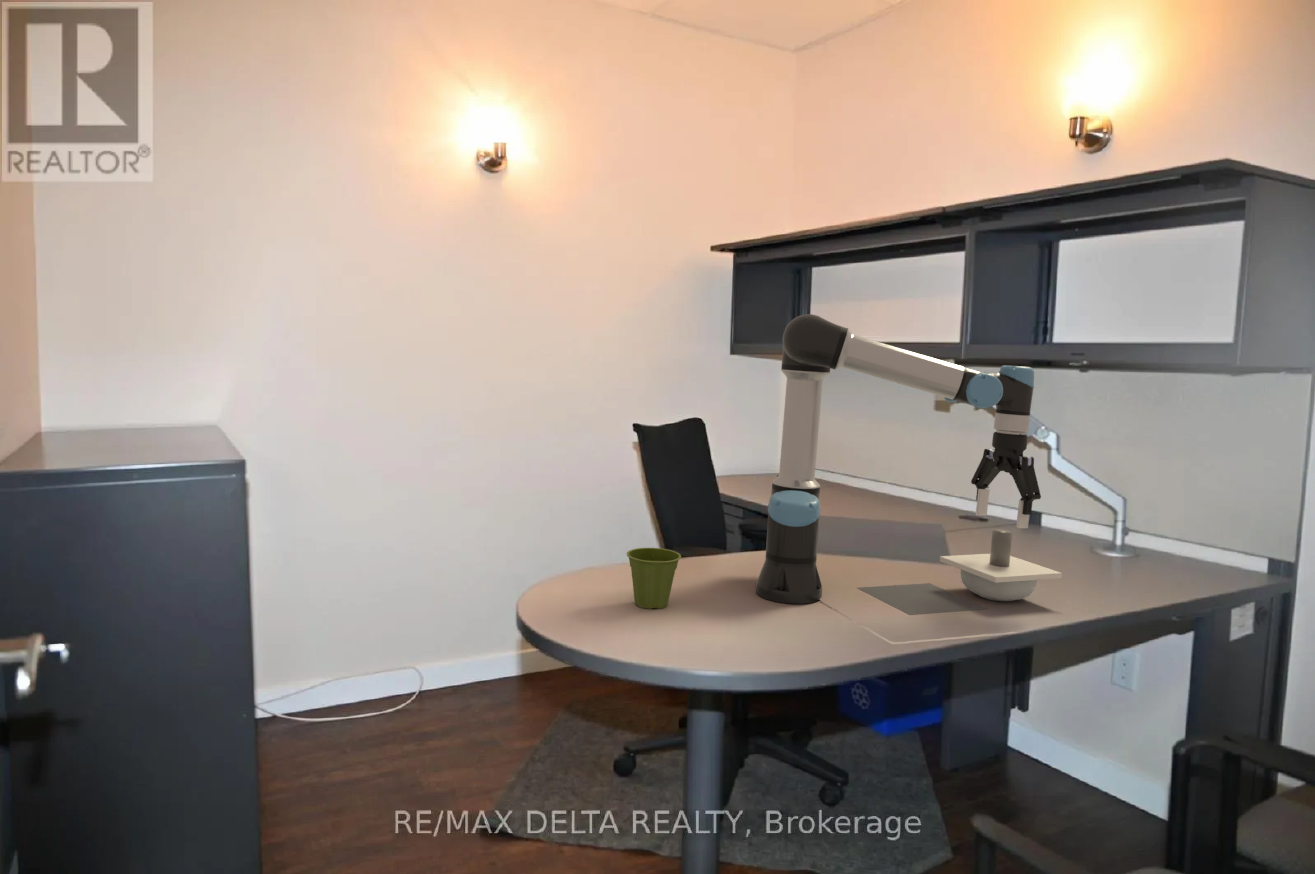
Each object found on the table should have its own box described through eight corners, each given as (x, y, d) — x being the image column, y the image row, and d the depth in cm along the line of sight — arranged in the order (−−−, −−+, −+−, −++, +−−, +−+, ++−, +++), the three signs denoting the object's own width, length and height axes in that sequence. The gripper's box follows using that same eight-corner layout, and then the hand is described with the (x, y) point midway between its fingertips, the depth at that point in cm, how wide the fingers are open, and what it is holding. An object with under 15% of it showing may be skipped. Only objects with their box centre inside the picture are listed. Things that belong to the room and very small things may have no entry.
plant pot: (620, 610, 182) (622, 558, 181) (629, 594, 194) (631, 545, 192) (675, 615, 180) (678, 562, 179) (681, 599, 192) (684, 549, 191)
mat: (909, 616, 186) (909, 614, 186) (856, 589, 206) (856, 587, 206) (988, 611, 194) (988, 608, 193) (929, 585, 213) (929, 583, 213)
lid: (995, 582, 191) (999, 542, 190) (939, 561, 209) (942, 523, 208) (1061, 578, 198) (1065, 538, 197) (1001, 557, 216) (1005, 521, 215)
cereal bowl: (946, 595, 204) (948, 566, 204) (976, 584, 216) (979, 556, 216) (1017, 613, 193) (1020, 583, 192) (1045, 600, 205) (1048, 571, 204)
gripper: (1064, 439, 190) (1053, 533, 192) (986, 426, 213) (977, 510, 216) (1037, 438, 187) (1027, 533, 190) (961, 425, 211) (953, 510, 213)
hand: (1000, 521), depth 203 cm, fingers open, 13 cm apart
